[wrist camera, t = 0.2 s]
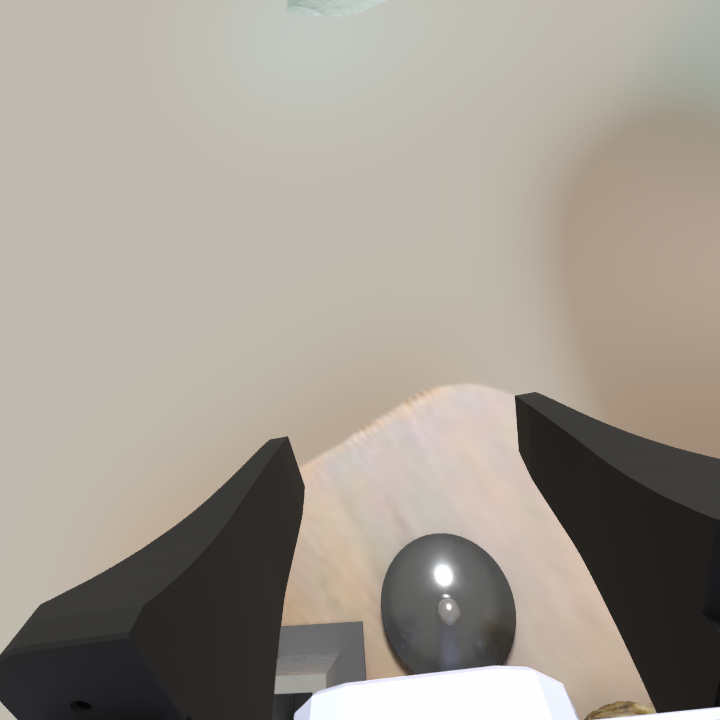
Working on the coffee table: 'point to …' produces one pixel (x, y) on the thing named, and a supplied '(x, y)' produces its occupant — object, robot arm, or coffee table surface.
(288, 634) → the mat
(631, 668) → the coffee table surface
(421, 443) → the coffee table surface
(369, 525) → the coffee table surface
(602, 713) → the ceramic sculpture
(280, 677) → the grey hollow cube
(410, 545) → the hub
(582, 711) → the coffee table surface
